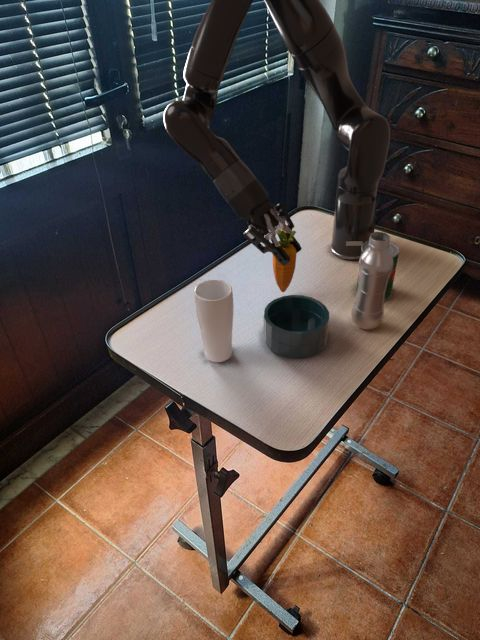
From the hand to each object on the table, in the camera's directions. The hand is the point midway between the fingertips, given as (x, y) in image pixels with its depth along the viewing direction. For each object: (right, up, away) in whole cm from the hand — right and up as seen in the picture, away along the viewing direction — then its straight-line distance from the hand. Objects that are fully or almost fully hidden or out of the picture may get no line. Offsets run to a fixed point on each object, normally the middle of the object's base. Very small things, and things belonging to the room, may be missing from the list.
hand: (292, 256), depth 107 cm
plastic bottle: (+15, -14, 0) cm, 21 cm away
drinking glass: (-15, -20, -7) cm, 26 cm away
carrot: (-2, -7, +7) cm, 10 cm away
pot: (0, -17, -3) cm, 17 cm away
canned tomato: (+19, -6, +9) cm, 22 cm away
